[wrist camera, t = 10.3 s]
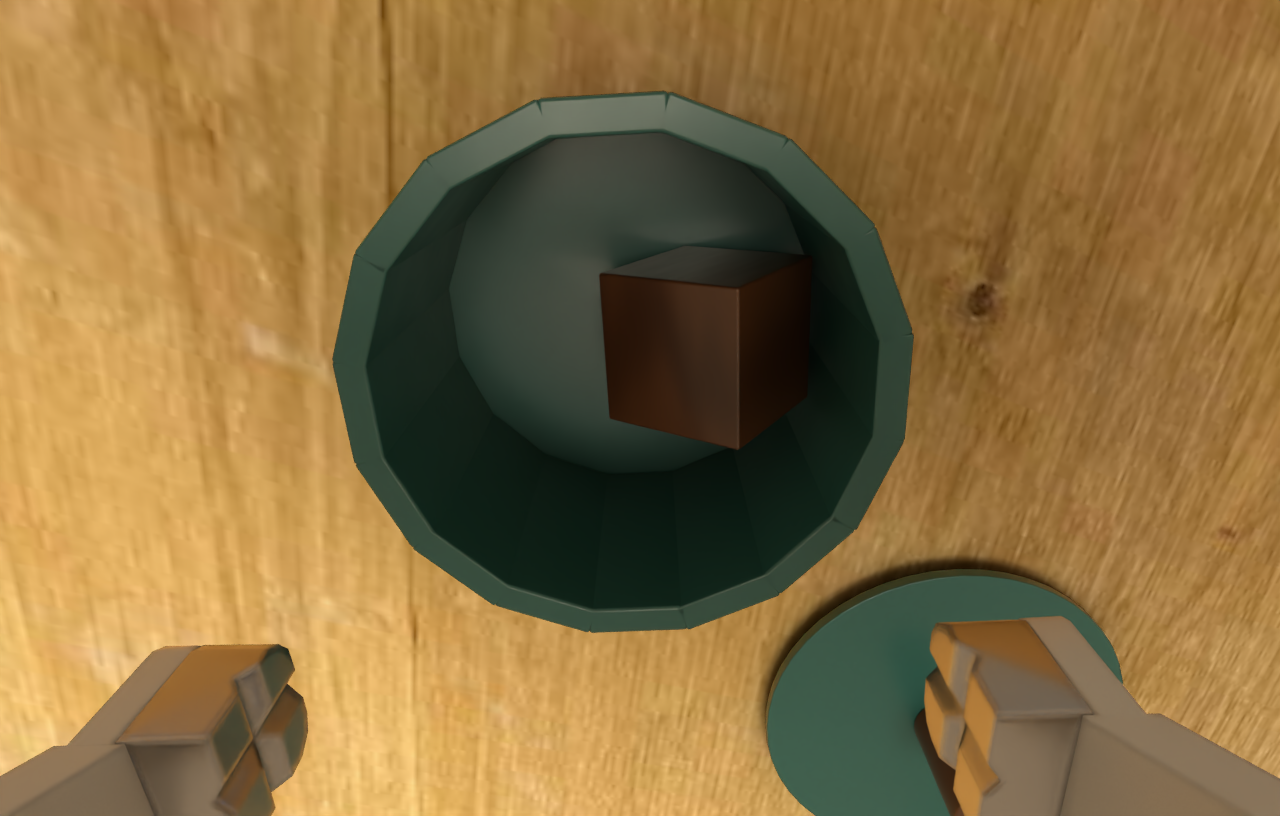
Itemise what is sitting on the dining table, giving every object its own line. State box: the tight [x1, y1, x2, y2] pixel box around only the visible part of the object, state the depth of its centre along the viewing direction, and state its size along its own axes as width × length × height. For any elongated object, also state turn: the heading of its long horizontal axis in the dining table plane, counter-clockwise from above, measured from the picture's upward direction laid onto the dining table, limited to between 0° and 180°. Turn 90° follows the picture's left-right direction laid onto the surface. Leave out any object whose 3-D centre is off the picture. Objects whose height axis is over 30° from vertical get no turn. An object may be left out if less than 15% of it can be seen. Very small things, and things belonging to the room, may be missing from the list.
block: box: [599, 246, 812, 450], centre depth 22 cm, size 4×4×4 cm
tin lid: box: [765, 569, 1123, 816], centre depth 30 cm, size 15×15×6 cm
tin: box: [332, 91, 914, 633], centre depth 22 cm, size 14×14×8 cm
